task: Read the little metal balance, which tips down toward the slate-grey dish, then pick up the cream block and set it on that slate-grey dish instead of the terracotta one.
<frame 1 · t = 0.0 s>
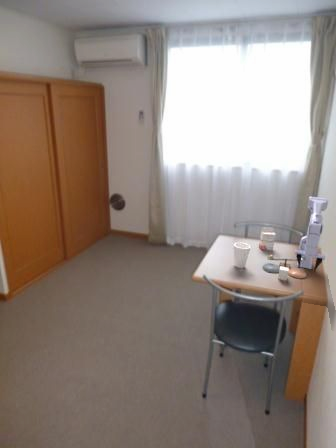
hand: (306, 269, 171), 10 cm above the table, tool pointing down, fingers open, 7 cm apart
dish terracotta: (296, 274, 187), on the table
foam cup: (239, 265, 194), on the table
cream block: (282, 278, 182), on the table
ink cartridge box: (265, 249, 221), on the table
dish slate: (271, 268, 192), on the table
balance: (284, 266, 196), on the table
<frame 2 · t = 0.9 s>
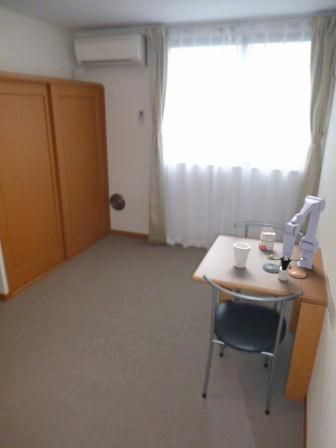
hand: (284, 267, 179), 7 cm above the table, tool pointing down, fingers open, 7 cm apart
nothing on the table moved.
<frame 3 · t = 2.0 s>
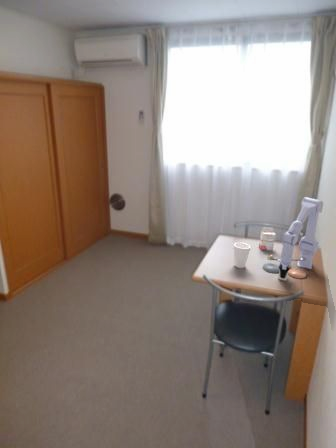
hand: (282, 275, 181), 1 cm above the table, tool pointing down, fingers closed on cream block, 5 cm apart
cream block: (282, 278, 182), on the table, touching gripper
everything else where it was.
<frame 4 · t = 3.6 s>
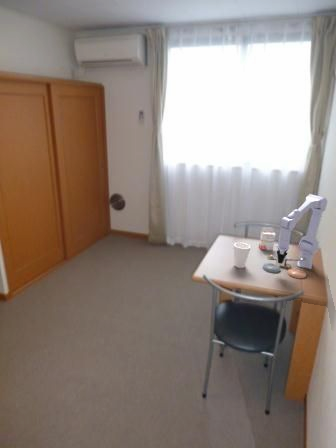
hand: (280, 261, 183), 8 cm above the table, tool pointing down, fingers closed on cream block, 5 cm apart
cream block: (280, 263, 183), point 7 cm above the table, touching gripper
everything else where it was.
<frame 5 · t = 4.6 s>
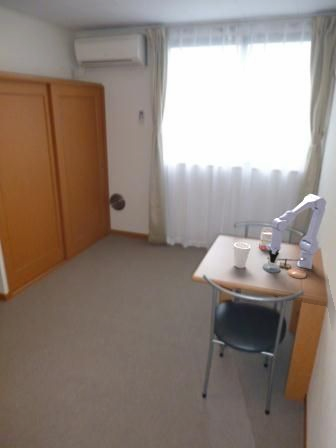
hand: (272, 260, 190), 5 cm above the table, tool pointing down, fingers closed on cream block, 5 cm apart
cream block: (272, 263, 191), point 4 cm above the table, touching gripper
everything else where it was.
when the fingers open (4 cm above the table, at t = 5.3 s): cream block drops 1 cm, resting on dish slate.
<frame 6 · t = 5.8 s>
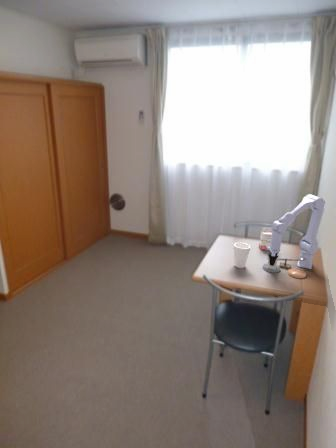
hand: (272, 262, 191), 4 cm above the table, tool pointing down, fingers open, 7 cm apart
cream block: (271, 267, 192), point 1 cm above the table, touching dish slate
everything else where it was.
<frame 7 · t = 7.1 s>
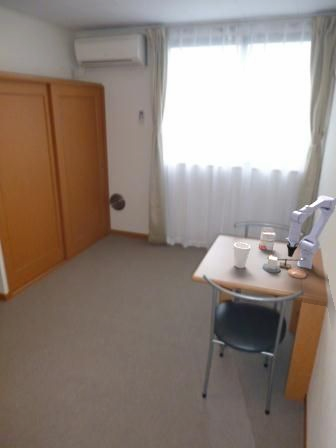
hand: (290, 254, 188), 10 cm above the table, tool pointing down, fingers open, 7 cm apart
nothing on the table moved.
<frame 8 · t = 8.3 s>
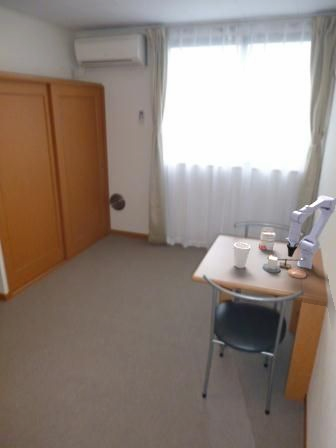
hand: (290, 254, 188), 10 cm above the table, tool pointing down, fingers open, 7 cm apart
nothing on the table moved.
at the end: cream block 0.0 cm off-centre on the dish slate, point 1.0 cm above the dish slate's base; cream block tilted 0°; the gripper is holding nothing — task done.
